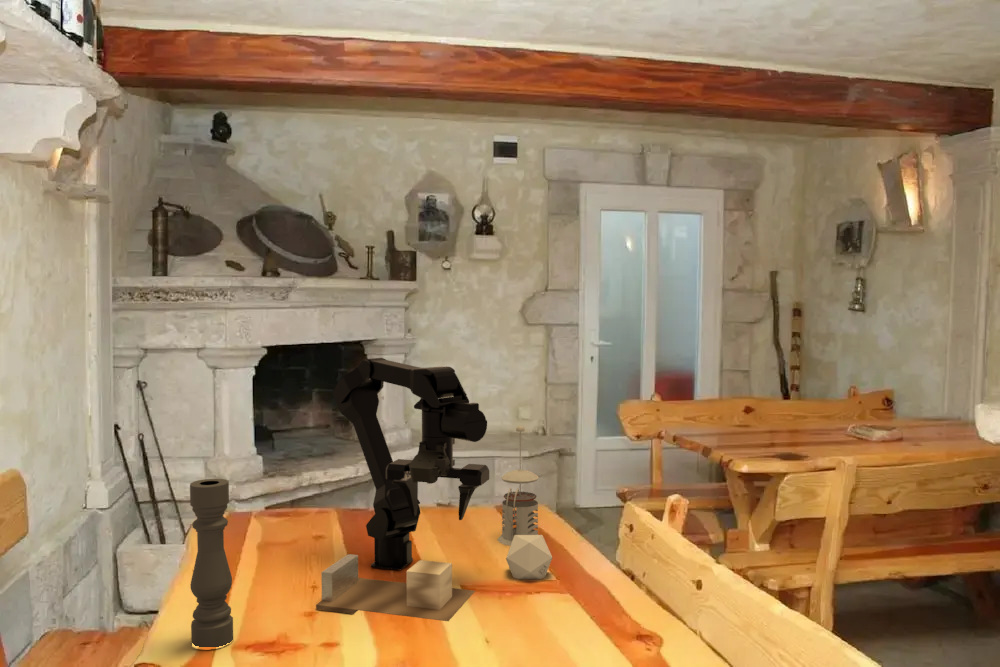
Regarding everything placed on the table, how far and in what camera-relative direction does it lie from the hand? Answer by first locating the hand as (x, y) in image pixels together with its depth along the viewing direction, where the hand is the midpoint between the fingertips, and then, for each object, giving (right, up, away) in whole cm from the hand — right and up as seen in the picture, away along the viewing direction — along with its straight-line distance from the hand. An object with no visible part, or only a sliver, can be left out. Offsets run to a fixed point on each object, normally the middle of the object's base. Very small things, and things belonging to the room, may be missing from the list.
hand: (437, 517), depth 155 cm
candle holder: (-33, -14, -26) cm, 44 cm away
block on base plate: (-6, -13, -10) cm, 17 cm away
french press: (+16, -11, +25) cm, 32 cm away
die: (+17, -12, +2) cm, 21 cm away
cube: (0, -12, -12) cm, 17 cm away
